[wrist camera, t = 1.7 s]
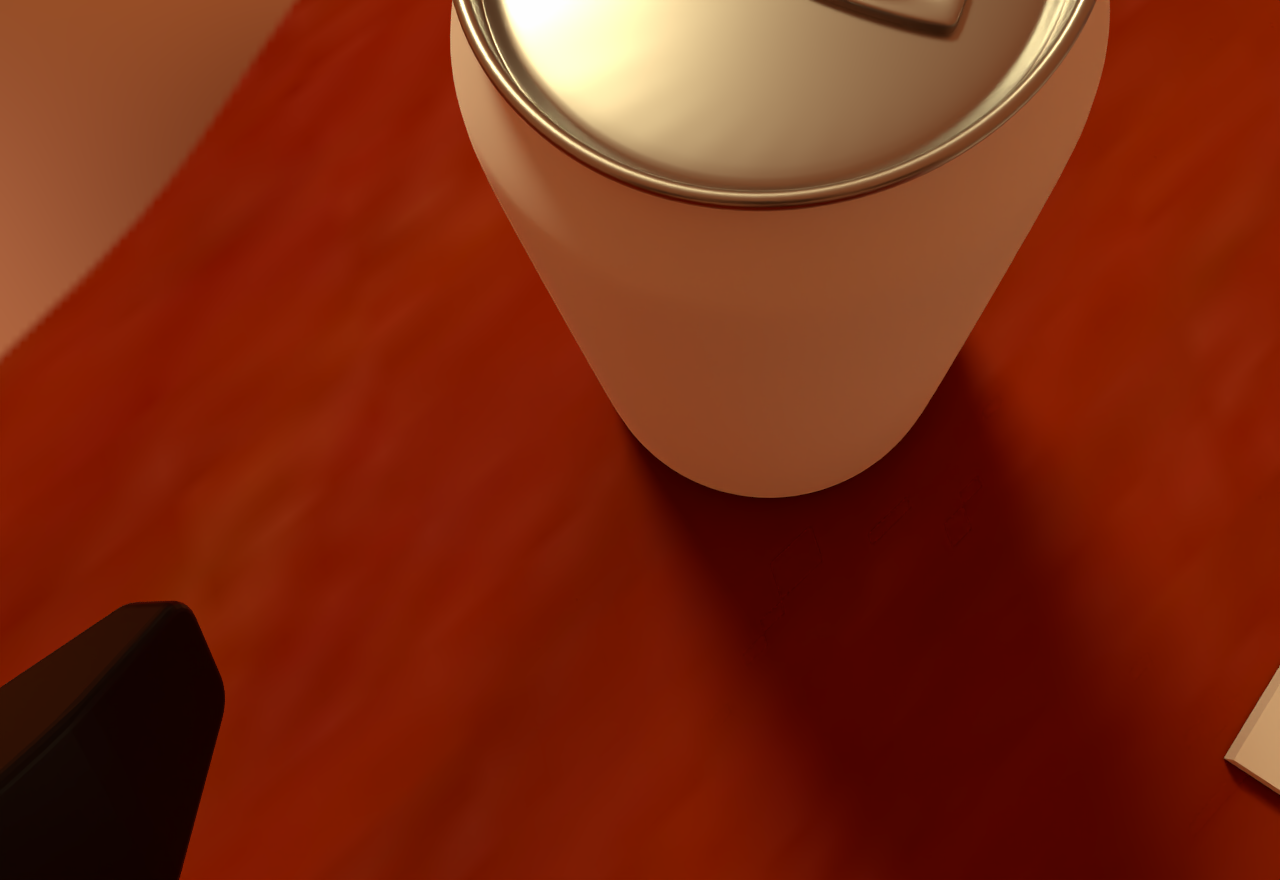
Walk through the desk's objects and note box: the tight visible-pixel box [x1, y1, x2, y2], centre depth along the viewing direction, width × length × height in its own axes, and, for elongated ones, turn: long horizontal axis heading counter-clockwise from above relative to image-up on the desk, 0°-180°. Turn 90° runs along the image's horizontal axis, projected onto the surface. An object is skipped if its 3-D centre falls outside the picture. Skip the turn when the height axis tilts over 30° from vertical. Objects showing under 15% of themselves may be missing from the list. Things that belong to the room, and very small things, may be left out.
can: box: [450, 0, 1110, 498], centre depth 15 cm, size 6×6×12 cm
